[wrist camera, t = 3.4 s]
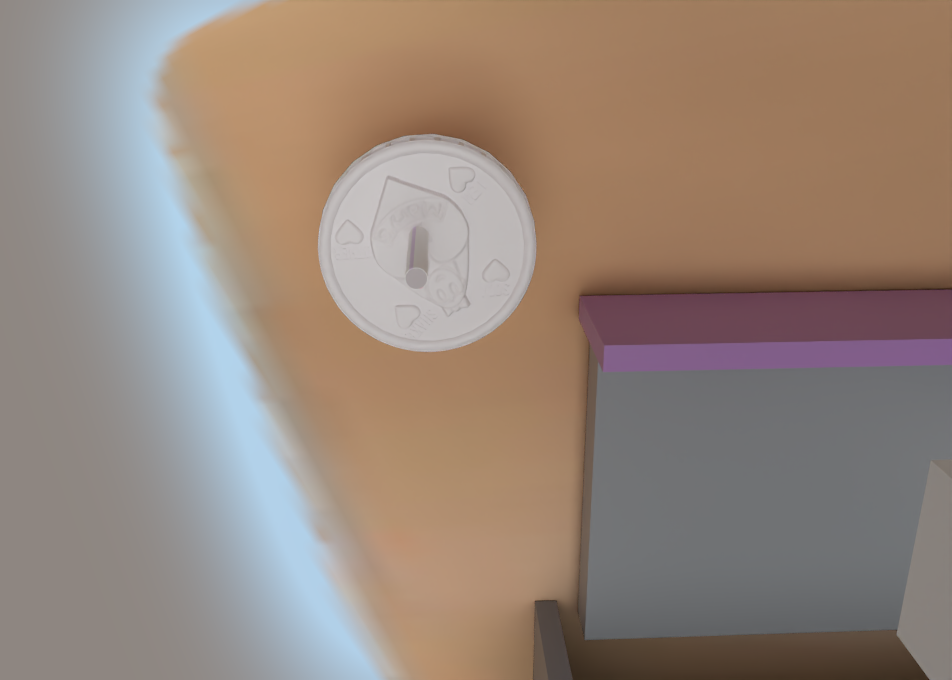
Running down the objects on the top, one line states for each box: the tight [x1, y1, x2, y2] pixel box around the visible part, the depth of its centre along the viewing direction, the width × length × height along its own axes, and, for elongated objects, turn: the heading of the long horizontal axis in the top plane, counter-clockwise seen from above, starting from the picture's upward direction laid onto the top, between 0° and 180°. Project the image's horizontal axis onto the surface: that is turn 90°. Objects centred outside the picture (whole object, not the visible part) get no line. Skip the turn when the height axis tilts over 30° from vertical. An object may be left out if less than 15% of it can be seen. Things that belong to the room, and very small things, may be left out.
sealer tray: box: [578, 289, 952, 640], centre depth 37 cm, size 16×20×6 cm
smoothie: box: [318, 134, 536, 352], centre depth 28 cm, size 6×6×14 cm
